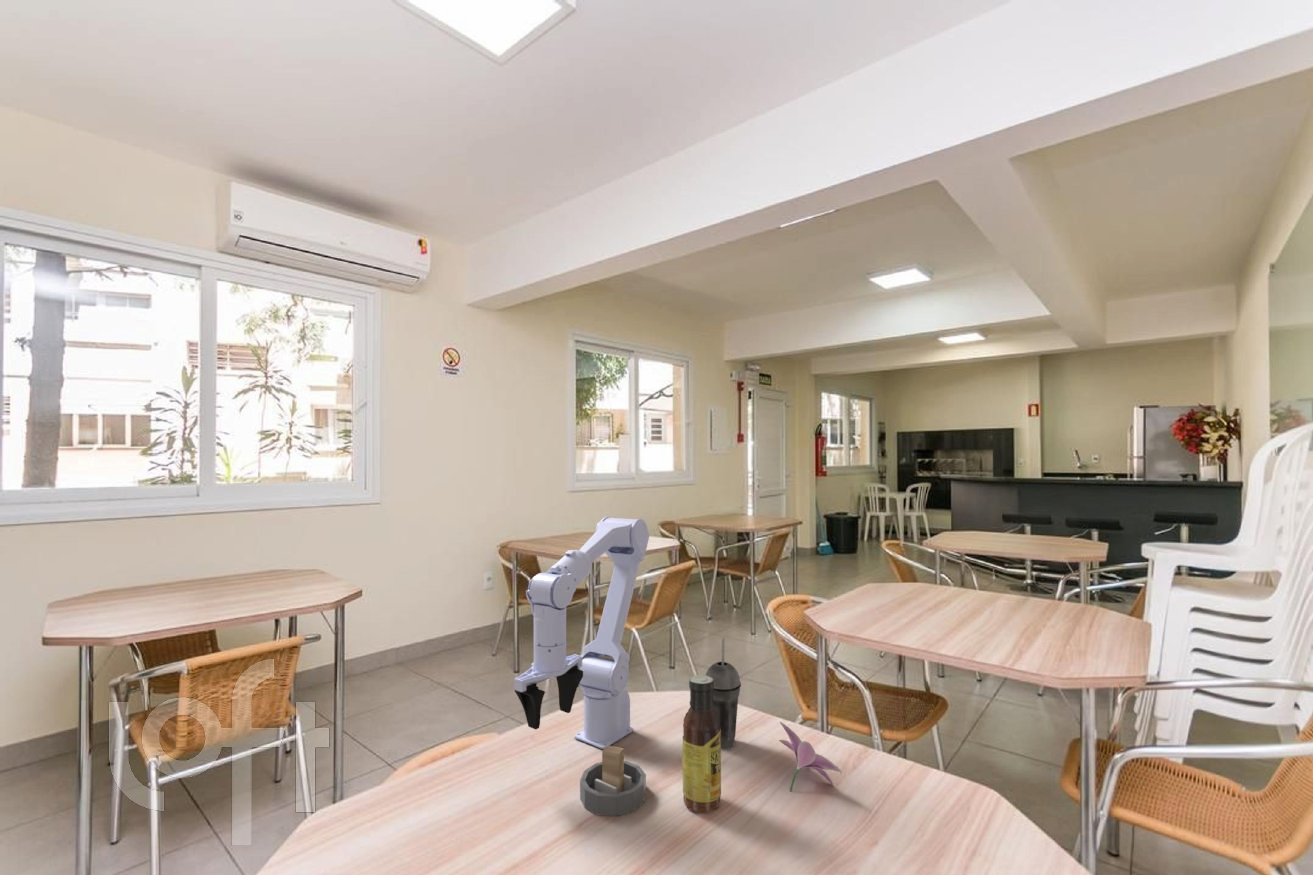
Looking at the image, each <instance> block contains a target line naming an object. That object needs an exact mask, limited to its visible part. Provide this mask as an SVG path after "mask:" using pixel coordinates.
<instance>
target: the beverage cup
mask: <svg viewBox="0 0 1313 875" xmlns="http://www.w3.org/2000/svg"><path fill="white" fill-rule="evenodd" d="M705 675H706V676H709V677H711V678H713V680H714V688H713V707H714V710H715V713H716V716H717V719H718V722H719V725H720V727H721V750H722V749H723V750H725V749H731V748H732V747H734V746H735V741H736V740H735V739H736V733H737V732H736V730H737V719H738V706H739V705H738V704H739V696H740V694H741V693H740V692H741V687H742V683H741V678H740V675H739V673H738V671H737V669H736V668H735V666H734V665H732V664H731V663H729V662H726V661H725V638H724V637H722V638H721V661H717V662H714V663H713V664H712V665H711V666H710V667H709V668H708V669H707V671H706V673H705Z"/></svg>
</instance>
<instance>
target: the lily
mask: <svg viewBox="0 0 1313 875" xmlns="http://www.w3.org/2000/svg"><path fill="white" fill-rule="evenodd" d="M779 723H780V725H781V727H782V728H783V729H784V731H785V732H786V734H787V736H788V738H789V741H788V740H785V739H779V740H778V741H779V742H780V743H782V744H783V745H784V746H786V747H787V748H788V749H790V750H791V751H792V752H793V753H794V755H795V757H796V761H797V768H796V769H795V773H793V774H794V775H793V778H792V780H791V784H790V788H789V792H792V790H793V788H794V787H793V785H794V782H795V778H796V776H797V774H798V772H799V770H800V769H801V768H804V769H805V768H807V769H812V770H814V771H816V772H818V774H820V775H821V776H822V777H824V779H825V780H826V781H827V782H828V783H830V785H832V786H834V783H833V781H832V780H831V777H830V776H829V775H828V773H827V772H826V770H827V771H828V770H829V771H833V772H838V773H843V771H842V770H841V769H840V768H839V767H838V766H837V765H836V764H834V763H833V762H832V761H831V760H830V759H828V758H826V757H824V756H823V755H821V754H818V753H816V751H815V749H814V747H813V745H812V744H811V743H810V742H809V741H802V740H801V738H800V737H799V736H798V734H796V732H795V731H793V730H792V729H791V728H790V727H789V726H787V725H786V724H784V723H783V722H782V721H779Z"/></svg>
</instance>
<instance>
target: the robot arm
mask: <svg viewBox="0 0 1313 875" xmlns="http://www.w3.org/2000/svg"><path fill="white" fill-rule="evenodd" d="M649 539H650V532H649V529H648V525H647V523H646V521H645V520H644V519H643V518H637V519H636V518H621V517H620V518H619V517H610V516H604V517H603V518H602V519H601V520H600V521H599V522H597V523H596V527H595V532H594V533H593V535H591V537H590V538H588V540H587V541H586V542H585V543H584V544H583V545H582V546H581V548H580V549H579V550H578V549H570V550H569V549H568V550H567V551H565V553H564V554H565V555H563V557H561V558H560V559H559V560H558V561H557V562H556V563H555V564H553V565H552V566H551V567H550V568H549V569H548V570H547V571H546V572H539V573H537V574H536V575H534V576H533V577H532V578H531V579H530V581H529V583H528V587H527V590H525V596H526V599H527V602H528V603H529V605H530V613H531V615H532V616H533V662H532V663H531V664H530V666H531V667H530V668H529V669H527V670H526V671H524V672H523V673H521V674H520V675H519V676H517V677H514V678H513V680H514V682H513V684H514V685H513V686H514V687H513V688H514V693H515V694H516V695H517V697H518V699H519V701H520V703H521V705H522V708H523V711H524V714H525V718H526V721H527V726H528V727H529V728H531V729H533V730H538V729H540V725H541V712H542V711H541V709H542V705H543V704H542V702H543V699H544V696H545V694H546V691H544V690H543V689H539V686H537V685H538V684H540V683H543V682H544V681H547V680H549V679H551V678H556V683H557V688H558V706H559V710H560V711H561V712H563V713H567V714H570V713H571V712H572V707H573V704H574V699H575V695H576V692H577V690H578V687H580V692H581V693H583V730H581V731H579V732H578V733H576V734H574V736H573V737H574V739H576V740H579V741H581V742H583V743H586V744H589V745H591V746H594V747H596V748H599V749H602V750H604V748H605V747H606V746H607V745H609V746H612V745H613V744H615V743H616V742H618V741H620V740H621V739H623V738H625V737H626V736H628V735H629V734H631V733H632V732H634V727H632V726H631V697H630V694H629V692H628V690H627V688H626V686H627V685H628V682H629V677H630V674H629V672H630V671H629V668H630V667H629V665H630V659H631V658H630V655H629V654H628V652H627V651H626V650H625V648H624V647H623V646H622V640H623V636H624V631H625V627H626V624H627V618H628V616H629V610H630V607H631V603H632V598H633V593H634V590H635V585H636V581H637V577H638V572H639V570H640V569H639V567H640V564H641V562H643V561H644V560H645V556H646V552H647V547H648V543H649ZM603 554H606V555H607V558H609V559H611V561H613V562H612V563H613V564H614V567H613V571H612V575H611V579H610V584H609V587H608V591H607V593H606V594H607V595H606V599H605V603H604V606H603V611H602V615H601V618H600V622H599V626H598V629H597V633H596V638H595V639H594V640H592V641H591V642H589V643H587V644H586V645H584V646H583V648H582V653H581V655H578V654H575V653H574V654H572V655H567V606H569V605H570V603H572V600H573V597H574V594H575V592H576V591H577V588H578V586H579V585H580V584H581V583H582V582H583V580H585V579H586V578H587V577H588V576H589V575H590V574H591V572H592V567H593V566H592V564H593V563H594V562H595V561H596V560H598V558H600V557H601V556H603ZM602 656H603V657H602ZM605 657H607V658H605ZM610 658H613V659H610Z"/></svg>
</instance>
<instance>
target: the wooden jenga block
mask: <svg viewBox="0 0 1313 875" xmlns="http://www.w3.org/2000/svg"><path fill="white" fill-rule="evenodd" d="M624 750H625V748H623V747H619V746H612V745H610V746H609V745H607V746H606V747H605V748H604V749H602V750H601V756H602V757H601V758H602V760H601V762H602V781H603V782H606V783H608V784H610V785H612V786H615V787H617V793H620V792H623V791H624V761H625V760H624V759H625V757H624V756H625V752H624Z"/></svg>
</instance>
